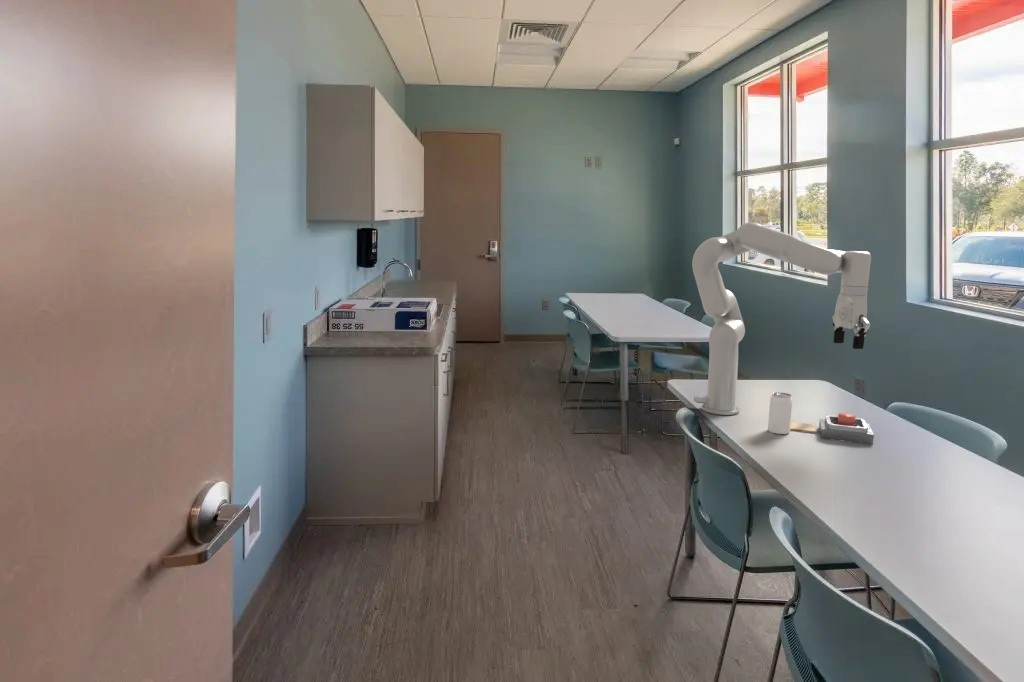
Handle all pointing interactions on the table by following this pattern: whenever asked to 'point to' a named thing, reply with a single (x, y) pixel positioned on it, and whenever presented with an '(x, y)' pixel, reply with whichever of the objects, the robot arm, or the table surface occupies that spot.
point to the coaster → (803, 427)
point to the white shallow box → (845, 430)
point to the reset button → (846, 419)
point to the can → (780, 413)
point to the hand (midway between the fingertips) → (847, 345)
